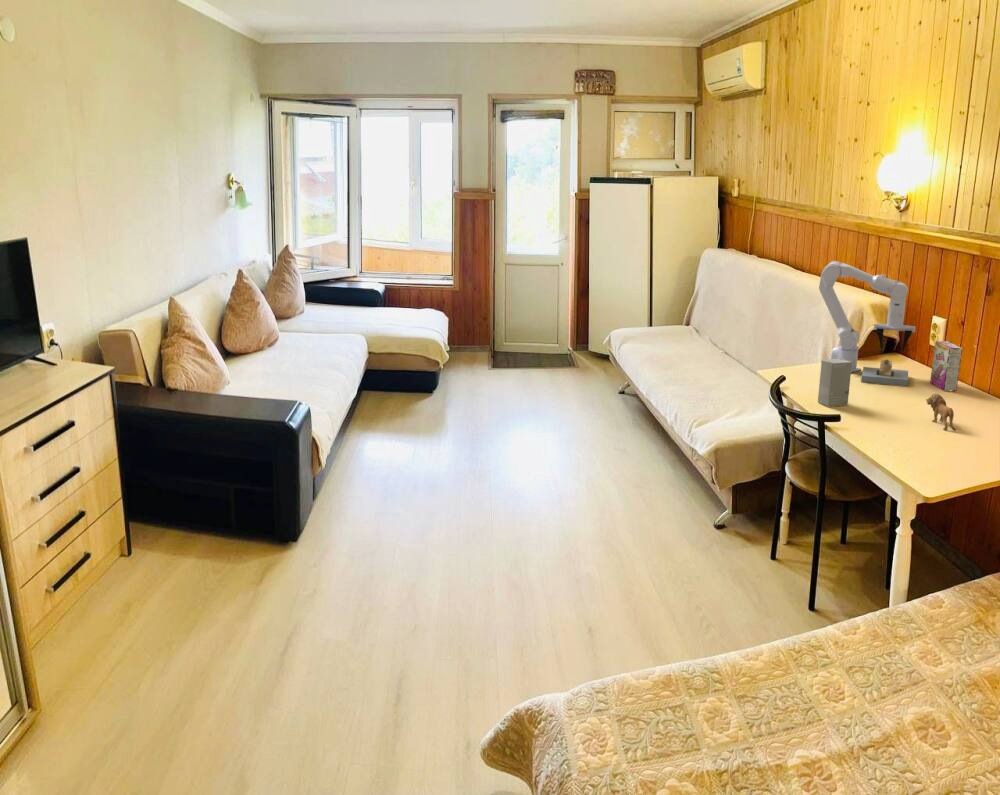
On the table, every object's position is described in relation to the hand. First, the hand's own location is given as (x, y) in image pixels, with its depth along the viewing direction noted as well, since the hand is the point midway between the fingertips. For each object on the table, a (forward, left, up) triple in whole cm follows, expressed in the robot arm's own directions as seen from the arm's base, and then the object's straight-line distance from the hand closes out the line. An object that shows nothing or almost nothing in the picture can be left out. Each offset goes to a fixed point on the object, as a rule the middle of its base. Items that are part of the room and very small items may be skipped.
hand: (891, 348), depth 325 cm
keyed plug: (+3, -8, -10) cm, 14 cm away
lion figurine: (+43, -42, -11) cm, 62 cm away
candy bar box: (+22, -1, -11) cm, 24 cm away
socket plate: (+3, -8, -10) cm, 13 cm away
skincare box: (+9, -50, -11) cm, 52 cm away
